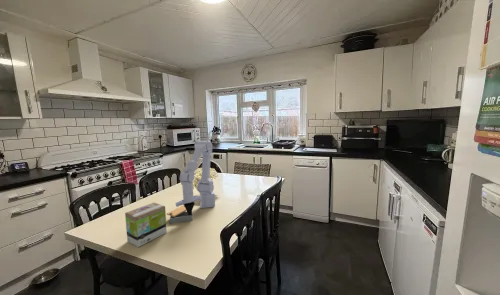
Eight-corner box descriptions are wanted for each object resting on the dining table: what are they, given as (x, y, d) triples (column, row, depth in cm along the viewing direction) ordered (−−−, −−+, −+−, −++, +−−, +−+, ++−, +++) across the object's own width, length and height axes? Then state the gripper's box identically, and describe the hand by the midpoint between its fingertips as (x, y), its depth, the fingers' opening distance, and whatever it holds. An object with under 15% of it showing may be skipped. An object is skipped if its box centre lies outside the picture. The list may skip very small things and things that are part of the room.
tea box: (138, 248, 91) (135, 217, 90) (127, 241, 97) (123, 212, 95) (167, 232, 104) (165, 205, 102) (156, 227, 109) (153, 201, 107)
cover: (182, 206, 127) (182, 204, 127) (190, 208, 124) (190, 206, 124) (166, 214, 117) (166, 212, 117) (173, 217, 113) (173, 214, 113)
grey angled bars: (192, 215, 122) (192, 210, 122) (192, 220, 116) (191, 215, 116) (171, 218, 119) (171, 213, 119) (170, 223, 113) (169, 218, 113)
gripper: (196, 187, 124) (197, 208, 126) (172, 193, 115) (174, 216, 117) (201, 190, 119) (203, 212, 121) (177, 197, 110) (179, 220, 111)
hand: (189, 214), depth 119 cm, fingers closed
